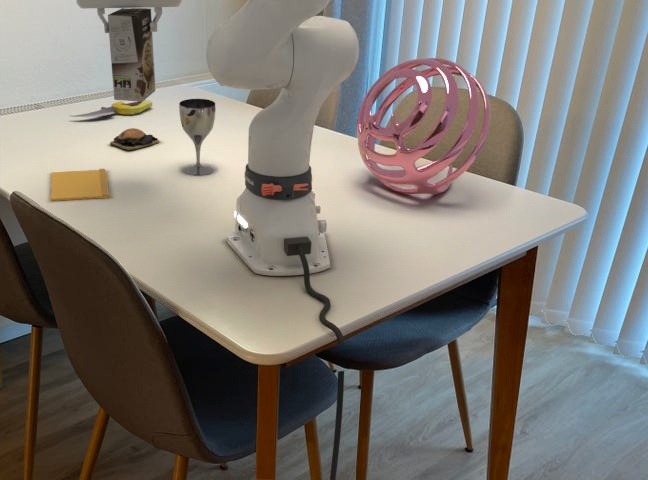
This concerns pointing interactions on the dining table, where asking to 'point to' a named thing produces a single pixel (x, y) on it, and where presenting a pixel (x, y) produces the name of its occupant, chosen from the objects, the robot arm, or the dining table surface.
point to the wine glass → (197, 128)
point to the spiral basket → (397, 132)
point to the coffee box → (131, 54)
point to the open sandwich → (133, 139)
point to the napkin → (79, 185)
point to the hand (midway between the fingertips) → (131, 32)
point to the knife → (120, 109)
